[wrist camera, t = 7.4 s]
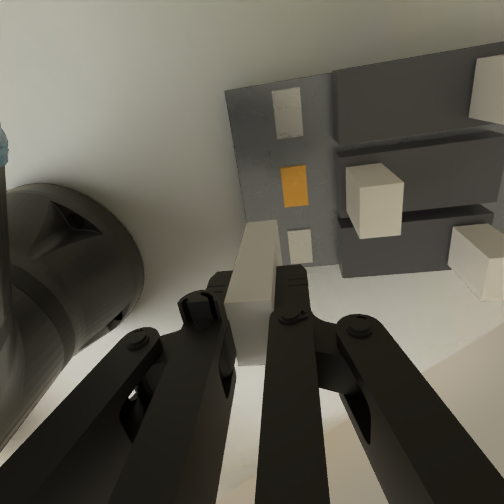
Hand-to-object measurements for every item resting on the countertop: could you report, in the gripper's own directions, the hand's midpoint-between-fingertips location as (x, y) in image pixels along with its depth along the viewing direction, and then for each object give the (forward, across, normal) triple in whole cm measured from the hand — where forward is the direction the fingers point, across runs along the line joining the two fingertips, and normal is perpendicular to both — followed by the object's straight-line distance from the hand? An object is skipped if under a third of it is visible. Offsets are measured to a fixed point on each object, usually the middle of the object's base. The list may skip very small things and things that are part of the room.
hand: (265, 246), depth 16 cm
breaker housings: (+9, +10, 0) cm, 13 cm away
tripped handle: (+7, +6, 0) cm, 9 cm away
